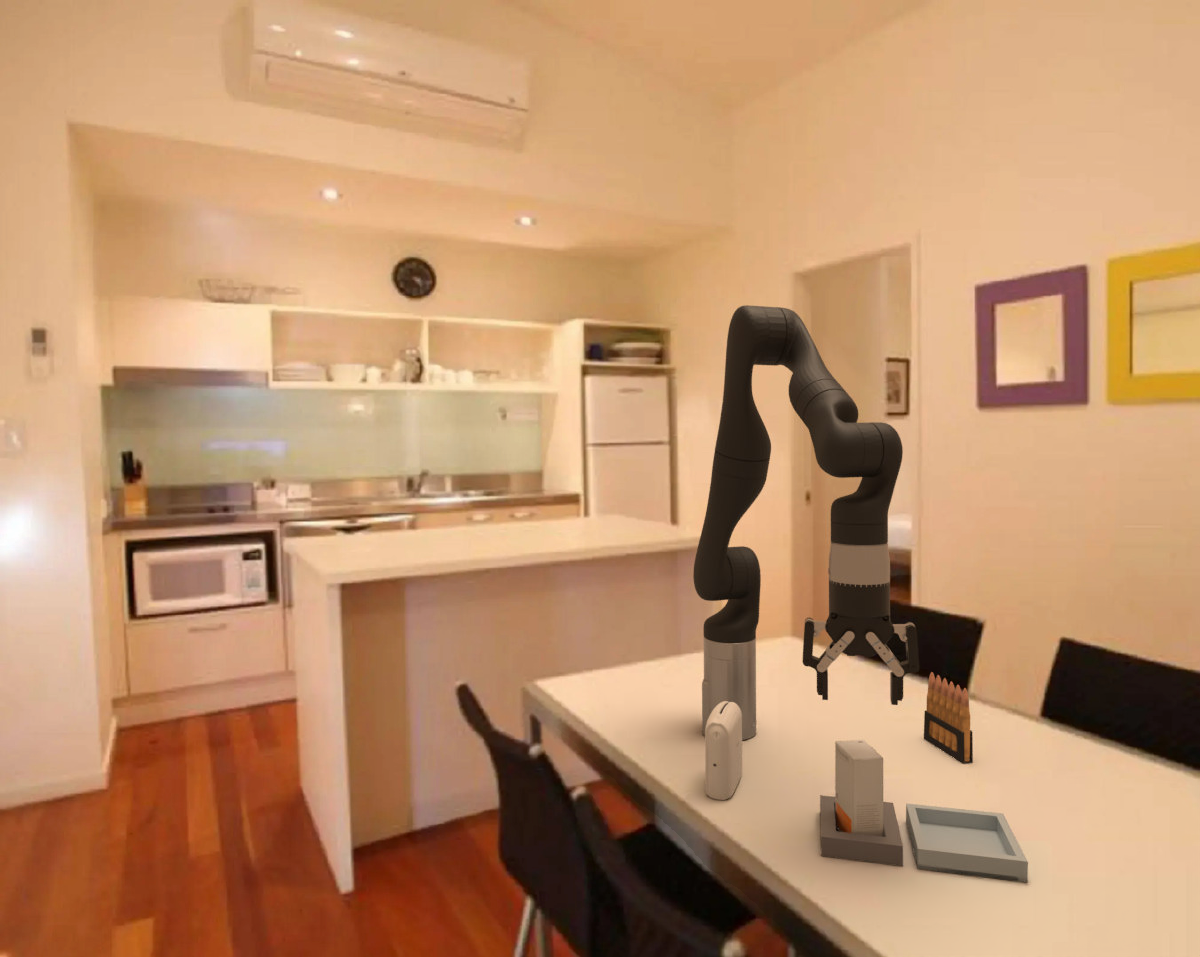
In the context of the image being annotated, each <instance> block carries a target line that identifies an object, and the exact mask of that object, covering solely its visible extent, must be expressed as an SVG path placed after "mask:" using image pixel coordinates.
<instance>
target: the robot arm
mask: <svg viewBox="0 0 1200 957" xmlns="http://www.w3.org/2000/svg"><path fill="white" fill-rule="evenodd" d="M726 339H727V340H726V350H725V367H724V385H723V392H722V404H721V409H720V412H721V413H720V418H719V425H718V430H717V438H716V442H715V447H714V453H713V460H712V468H711V477H710V485H709V486H710V487H709V492H708V497H707V498H708V499H707V505H706V510H705V517H704V520H703V525H702V529H701V534H700V536H699V540H698V544H697V548H696V553H695V558H694V563H693V572H692V573H693V577H692V578H693V585H694V589H695V591H696V594H697V595H698V597H699V598H700V599H702V600H704V601H709V602H717V601H726V604H725V605H724V606H723V607H722V608H721V609H720V610H719V611H717V612H716V613H714V614H713V615H711V616H709V617H708V618H706V619H705V621H704V622H703V628H702V629H703V679H702V681H701V704H702V706H701V708H702V709H701V710H702V711H701V713H702V714H701V717H702V718H701V719H702V723H701V725H702V727H701V728H702V731H701V732H702V735H703V736H705V728H706V723H707V720H708V718H709V716H710V714H711V712H712V711H713V709H714V708H715V707H716V706H717V705H718V704H719V703H721V702H724V701H728V702H734V703H736V704H737V705H738V706H739V708H740V710H741V713H742V741H744V740H747V739H748V740H749V739H751V738H753V737H754V736H756V735H757V636H756V635H757V634H756V633H757V627H758V624H759V621H760V620H759V619H760V604H761V602H760V599H761V587H762V586H761V585H762V584H761V579H762V578H761V566H760V562H759V559H758V556H757V555H756V553H755V551H754V550H753V549H751V548H750V547H748V546H743V545H742V546H729V544H730V541H731V537H732V535H733V532H734V530H735V528H736V526H737V525H738V523H739V522H740V520H741V519H742V517H743V516H745V513H747V512H748V511H749V509H750V507H752V505H753V503H754V502H755V501H756V499H758V497H759V495H760V494H761V493H762V490H763V489H764V487H765V485H766V481H767V479H768V478H767V477H768V471H769V465H770V460H771V453H772V443H771V438H770V435H769V433H768V430H767V427H766V425H765V423H764V421H763V418H762V416H761V414H760V412H759V410H758V408H757V406H756V402H755V399H754V396H753V371H754V366H774V367H775V366H784V367H785V368H786V369H788V370H789V371H790V372H792V374H791V375H790V376H791V377H790V380H789V385H788V397H789V402H790V404H791V406H792V409H793V410H794V411H795V413H796V414H797V416H798V417H799V419H801V421H802V422H803V424H804V425H805V427H806V428H807V430H808V432H809V435H810V439H811V443H812V446H813V451H814V456H815V459H816V463H817V464H818V466H819V468H820V469H821V470H822V471H823V472H825V473H826V474H828V476H832V477H835V478H839V479H842V478H843V479H845V478H847V479H848V478H861V480H860V482H859V485H858V487H857V489H856V491H854V492H852V493H850V494H846V495H844V496H843V495H842V496H840V497H837V498H836V499H834V501H832V503H831V505H830V506H831V507H830V545H829V546H830V547H829V555H828V569H827V573H828V617H827V619H826V621H824V620H817V619H816V620H815V619H813V618H812V617H807V618H805V619H804V628H803V646H802V664H803V666H804V667H810V668H812V669H814V670H815V672H816V692H817V695H818V696H822V701H828V700H829V681H828V680H829V679H828V678H829V674H828V673H829V672H828V668H829V667H830V666H831V664H832V663H833V662H834V661H836V660H837V659H838V658H839V656H840V655H841V654H842V653H843V654H844V655H846V656H847V657H855V656H863V657H864V658H865V657H866V658H873V657H874V656H877V655H878V656H879V657H880V658H881V659H882V661H883V662H884V663H885V664H886V665H887V666H888V668H890V670H891V671H890V674H889V676H890V678H889V681H890V682H889V684H890V685H889V686H890V687H889V688H890V689H889V690H890V691H889V694H890V695H889V697H890V698H889V699H890V704H891V706H898V705H899V702H902V701H903V699H904V677H905V676H906V675H907V674H912V673H914V674H915V673H918V672H920V659H919V658H920V657H919V656H920V655H919V642H918V640H919V639H918V630H917V627H916V625H915V623H913V622H911V621H907V622H905V623H896V624H895V623H893V622H892V621H891V559H890V551H889V543H888V542H889V508H890V505H891V502H892V498H893V494H894V491H895V486H896V483H897V479H898V476H899V472H900V469H901V465H902V461H903V453H904V452H903V449H904V448H903V443H902V440H901V437H900V434H899V433H898V431H897V430H896V429H895V427H893V426H892V425H891V424H888V423H886V422H880V421H879V422H876V421H875V422H858V420H859V409H858V406H857V404H856V403H855V400H853V398H852V397H851V396H850V395H849V393H848V392H847V390H845V389H844V388H843V386H842V385H841V383H839V382H838V381H837V380H836V378H835V377H834V376H833V375H832V374H831V372H830V371H829V369H828V368H827V366H826V365H825V362H824V361H823V359H822V357H821V355H820V352H819V350H818V348H817V346H816V344H815V342H814V340H813V338H812V336H811V334H810V333H809V330H808V329H807V326H806V324H805V322H804V321H803V319H802V318H801V317H800V316H799V315H798V314H797V312H795V311H794V310H793V309H790V308H787V307H778V306H763V305H762V306H761V305H741V306H739V307H737V309H736V310H735V311H734V312H733V314H732V316H731V318H730V321H729V326H728V332H727V338H726ZM822 631H825V632H826V634H827V635H828V636H829V637H830V639H831V642H830V643H829V644H828V646H826V648H825V650H824V651H823V652H822V654H821V655H820V656H819V657H818V656H815V655H813V653H814V638H818V637H819V636H821V632H822ZM894 634H897V635H898V637H899V639H900V640H901V641H902V642H904V643H905V652H906V653H905V655H906V660H904V661H901V662H900V661H899V660H898V659H897V657H896V656H895V654H894V653H893V652H892V651H891V649H890V648H889V647H888V645H887V643H888V642H889V641H890V639H891V638H893V636H894Z"/></svg>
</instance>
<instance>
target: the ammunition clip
mask: <svg viewBox="0 0 1200 957" xmlns="http://www.w3.org/2000/svg"><path fill="white" fill-rule="evenodd" d="M927 684H928V686H927V694H926V710H924V713H923V714H924V715H923V716H924V717H923V718H924V720H923V740H925V741H926V742H927V743H929V742H930V743H929V744H931V745H932V746H934V747H935V748H937V749H939V750H940V749H941V751H942V752H943V751H944V752H943V753H945V754H946V755H948V756H950V757H951V756H952V757H951V758H953V757H954V758H955V759H954V758H953V759H954V760H956V761H957V762H959V763H961V764H972V763H973V762H974V760H973V759H974V756H973V755H974V754H973V752H974V751H973V742H974V741H973V730H971V712H970V698H969V693H968V690H967V688H966V687H964V688H963V690H962V689H961V687H960V685H959V684H957V685H956V687H955V685H954V683H953V681H950V683H949V684H948V681H947V679H946V677H944V678H943V679H942V678H941V676H940V675H939V674H937V675H936V677H935V674H934V672H932V671H931V672H930V674H929V678H928V683H927Z"/></svg>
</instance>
